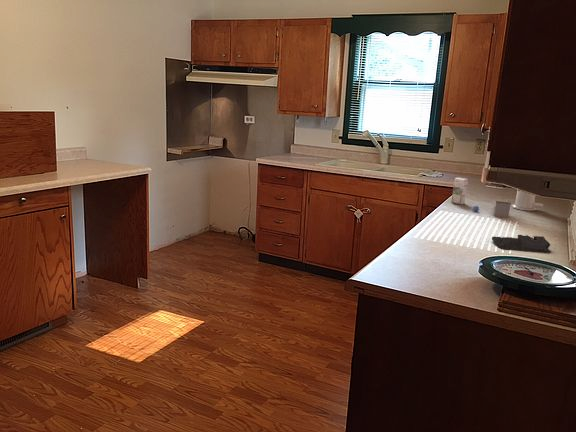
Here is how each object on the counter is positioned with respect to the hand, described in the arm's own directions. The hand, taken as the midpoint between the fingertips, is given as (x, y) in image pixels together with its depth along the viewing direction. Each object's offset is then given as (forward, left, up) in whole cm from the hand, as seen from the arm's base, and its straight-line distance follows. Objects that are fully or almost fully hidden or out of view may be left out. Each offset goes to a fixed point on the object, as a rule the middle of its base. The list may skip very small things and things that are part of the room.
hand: (488, 180), depth 277 cm
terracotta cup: (0, 0, -1) cm, 1 cm away
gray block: (-6, +18, -16) cm, 24 cm away
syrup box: (+14, -4, -16) cm, 22 cm away
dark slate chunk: (-7, +76, -16) cm, 78 cm away
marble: (+6, +14, -16) cm, 22 cm away
